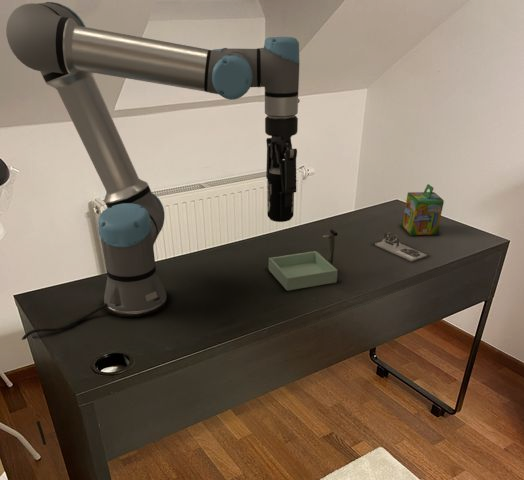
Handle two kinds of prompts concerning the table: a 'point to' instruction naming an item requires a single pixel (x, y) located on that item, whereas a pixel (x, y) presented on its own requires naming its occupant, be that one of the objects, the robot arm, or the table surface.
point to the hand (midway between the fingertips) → (280, 213)
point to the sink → (302, 270)
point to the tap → (331, 245)
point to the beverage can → (275, 195)
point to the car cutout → (399, 247)
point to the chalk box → (422, 212)
